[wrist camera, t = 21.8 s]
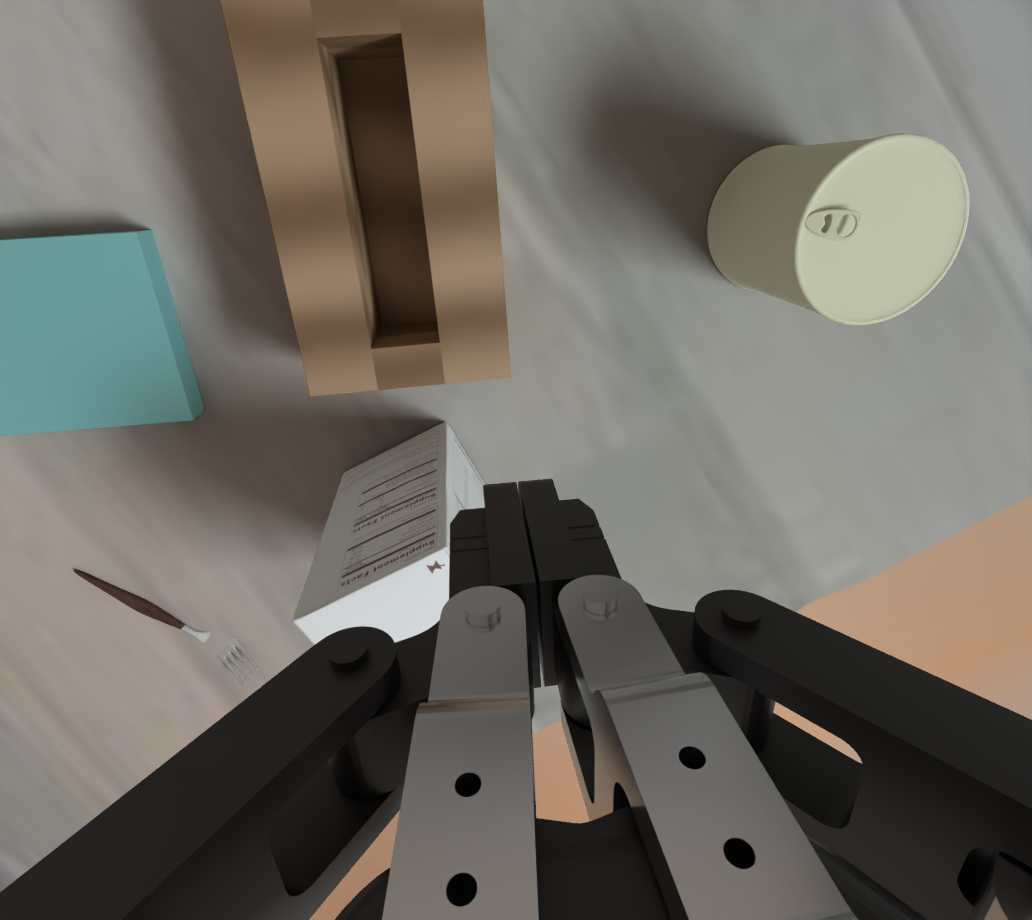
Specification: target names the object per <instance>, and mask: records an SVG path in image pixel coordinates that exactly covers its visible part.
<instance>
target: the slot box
mask: <svg viewBox="0 0 1032 920" xmlns="http://www.w3.org/2000/svg"><path fill="white" fill-rule="evenodd" d="M220 2H221V6H222V10H223V15H224V19H225V24H226V28H227V32H228V37H229V41H230V45H231V50H232V54H233V59H234V63H235V67H236V72H237V76H238V81H239V85H240V89H241V94H242V98H243V103H244V107H245V111H246V116H247V120H248V124H249V129H250V133H251V138H252V142H253V146H254V151H255V155H256V160H257V164H258V168H259V173H260V177H261V182H262V186H263V190H264V195H265V199H266V203H267V208H268V212H269V217H270V221H271V225H272V230H273V234H274V239H275V243H276V247H277V252H278V256H279V261H280V265H281V269H282V274H283V278H284V282H285V287H286V291H287V296H288V300H289V304H290V309H291V313H292V318H293V322H294V326H295V331H296V335H297V339H298V344H299V348H300V353H301V357H302V361H303V366H304V370H305V375H306V379H307V383H308V388H309V392H310V396H321V395H331V394H342V393H352V392H363V391H373V390H384V389H394V388H405V387H416V386H426V385H437V384H447V383H458V382H468V381H479V380H489V379H500V378H510V377H511V369H510V356H509V343H508V329H507V316H506V303H505V289H504V276H503V262H502V249H501V236H500V222H499V209H498V195H497V182H496V169H495V155H494V142H493V129H492V115H491V102H490V88H489V75H488V62H487V48H486V35H485V22H484V8H483V0H220Z"/></svg>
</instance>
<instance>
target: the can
mask: <svg viewBox="0 0 1032 920" xmlns="http://www.w3.org/2000/svg"><path fill="white" fill-rule="evenodd" d="M968 215H969V192H968V186H967V182H966V178H965V175H964V173H963V170H962V168H961V166H960V164H959V163H958V161H957V159H956V158H955V157H954V155H953V154H952V153H951V152H950V151H949V150H948V149H947V148H945V147H944V146H943V145H941V144H940V143H938V142H937V141H935V140H933V139H930V138H928V137H925V136H921V135H916V134H905V133H902V134H892V135H886V136H882V137H879V138H873V139H865V140H857V141H848V142H839V143H829V144H818V145H807V146H798V145H776V146H772V147H768V148H765V149H762V150H760V151H758V152H756V153H754V154H752V155H751V156H749V157H748V158H746V159H745V160H743V161H742V162H741V163H740V164H739V165H737V166H736V167H735V168H734V169H733V170H732V171H731V173H730V174H729V175H728V176H727V177H726V179H725V180H724V181H723V183H722V184H721V186H720V188H719V189H718V191H717V193H716V195H715V198H714V200H713V203H712V206H711V209H710V213H709V218H708V225H707V239H708V246H709V250H710V253H711V256H712V259H713V261H714V263H715V265H716V267H717V268H718V270H719V271H720V272H721V273H722V275H723V276H724V277H725V278H726V279H728V280H729V281H730V282H732V283H733V284H735V285H737V286H739V287H741V288H744V289H747V290H751V291H760V292H763V293H766V294H769V295H771V296H774V297H777V298H780V299H782V300H785V301H788V302H790V303H793V304H796V305H798V306H801V307H804V308H806V309H809V310H811V311H814V312H816V313H819V314H821V315H822V316H824V317H826V318H828V319H830V320H833V321H835V322H838V323H842V324H849V325H866V324H872V323H877V322H881V321H884V320H887V319H890V318H892V317H895V316H897V315H899V314H901V313H902V312H904V311H906V310H908V309H909V308H911V307H912V306H914V305H915V304H916V303H918V302H919V301H920V300H921V299H923V298H924V297H925V296H926V295H927V294H928V293H929V292H930V291H931V290H932V289H933V288H934V287H935V286H936V285H937V284H938V283H939V281H940V280H941V279H942V278H943V276H944V275H945V273H946V272H947V270H948V269H949V267H950V266H951V264H952V263H953V261H954V259H955V257H956V255H957V253H958V251H959V249H960V246H961V243H962V241H963V238H964V235H965V231H966V227H967V223H968Z"/></svg>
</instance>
